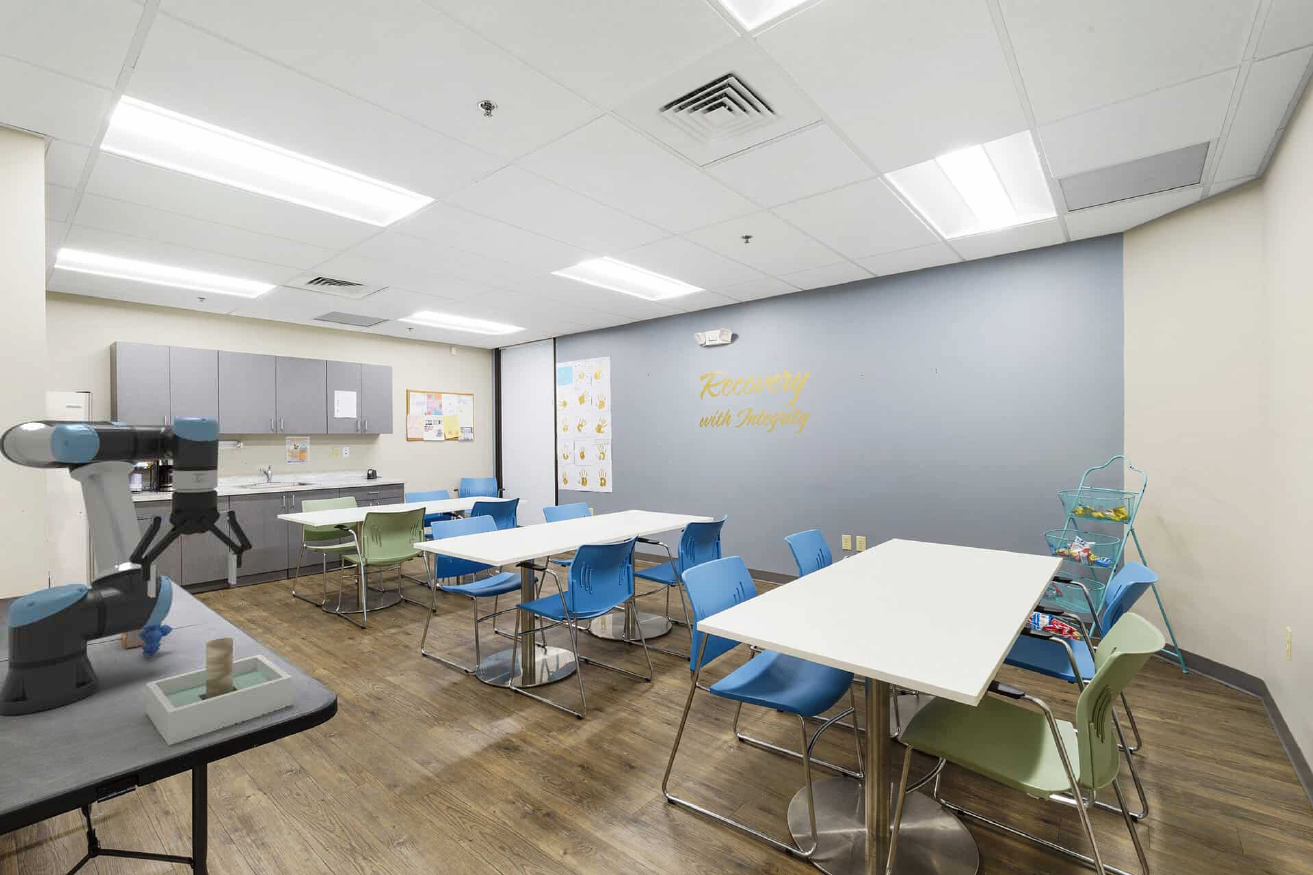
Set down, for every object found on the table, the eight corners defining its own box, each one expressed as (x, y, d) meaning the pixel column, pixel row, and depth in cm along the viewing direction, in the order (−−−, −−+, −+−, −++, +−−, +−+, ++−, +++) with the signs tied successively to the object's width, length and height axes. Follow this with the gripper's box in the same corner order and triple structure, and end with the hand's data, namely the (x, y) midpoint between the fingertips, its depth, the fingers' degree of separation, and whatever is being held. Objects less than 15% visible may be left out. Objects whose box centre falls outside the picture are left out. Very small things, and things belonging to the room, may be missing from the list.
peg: (209, 716, 115) (209, 646, 115) (203, 709, 117) (203, 642, 117) (235, 708, 118) (235, 640, 118) (229, 702, 121) (229, 636, 121)
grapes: (176, 656, 146) (176, 610, 147) (141, 664, 141) (141, 616, 142) (169, 646, 154) (169, 601, 154) (135, 652, 149) (135, 607, 149)
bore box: (168, 745, 104) (168, 712, 104) (146, 712, 116) (146, 683, 116) (292, 705, 119) (292, 676, 119) (260, 680, 132) (260, 654, 132)
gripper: (118, 495, 109) (116, 606, 109) (269, 487, 128) (267, 581, 128) (111, 492, 113) (109, 597, 114) (258, 485, 133) (256, 575, 133)
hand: (193, 589), depth 121 cm, fingers open, 13 cm apart
